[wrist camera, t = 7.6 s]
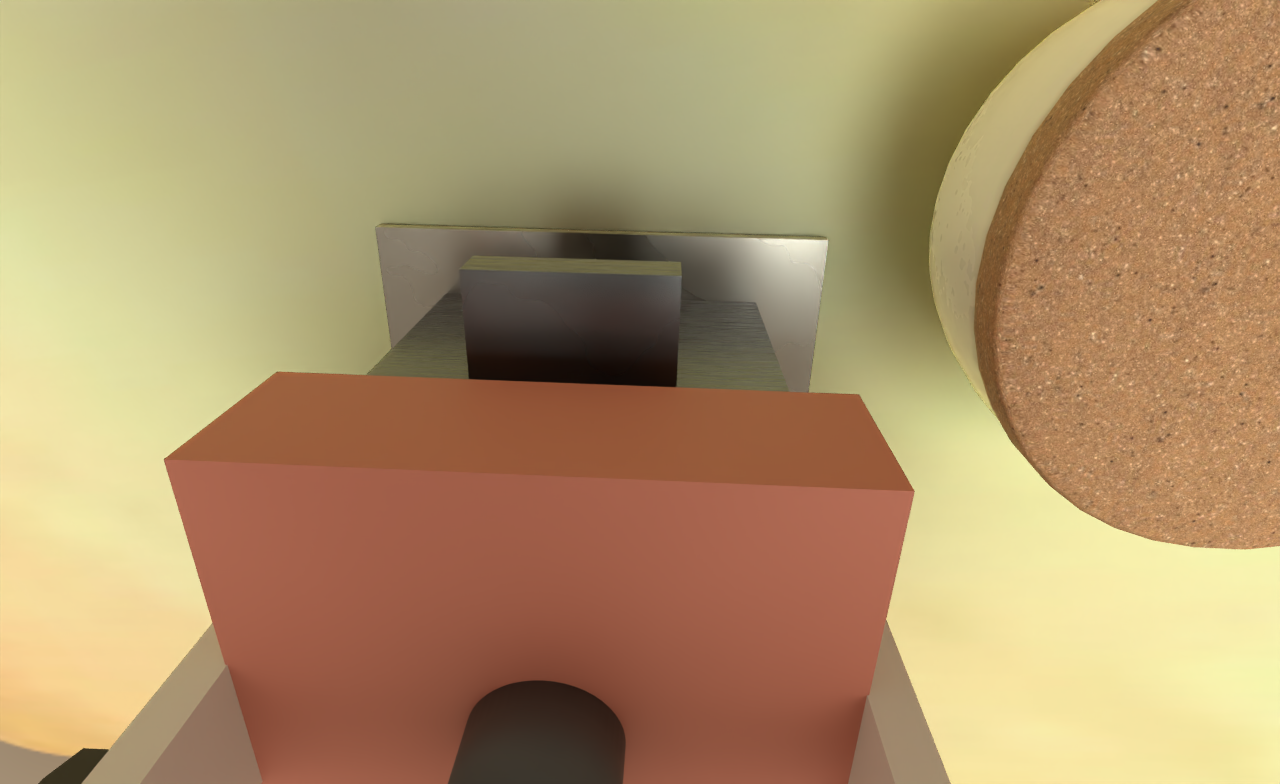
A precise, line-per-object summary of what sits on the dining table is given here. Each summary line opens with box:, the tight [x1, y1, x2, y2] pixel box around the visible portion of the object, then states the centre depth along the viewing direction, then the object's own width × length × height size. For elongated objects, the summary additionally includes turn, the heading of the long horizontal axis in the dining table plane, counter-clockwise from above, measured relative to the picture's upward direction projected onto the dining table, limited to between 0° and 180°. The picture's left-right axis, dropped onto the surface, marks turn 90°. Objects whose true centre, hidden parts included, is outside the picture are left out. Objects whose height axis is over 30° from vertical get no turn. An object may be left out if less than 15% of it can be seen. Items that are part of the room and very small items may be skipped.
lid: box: [164, 372, 915, 784], centre depth 12 cm, size 10×10×5 cm
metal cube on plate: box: [367, 224, 829, 393], centre depth 18 cm, size 13×12×8 cm
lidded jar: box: [929, 0, 1280, 549], centre depth 14 cm, size 11×11×9 cm
